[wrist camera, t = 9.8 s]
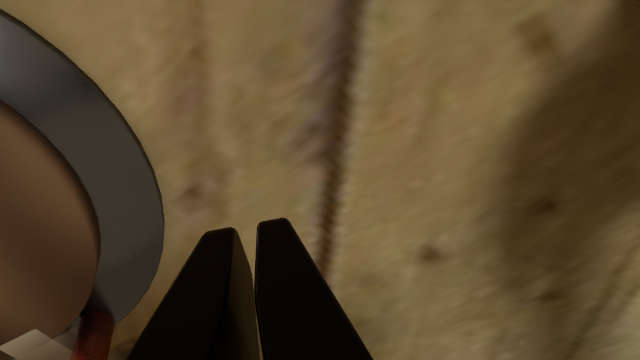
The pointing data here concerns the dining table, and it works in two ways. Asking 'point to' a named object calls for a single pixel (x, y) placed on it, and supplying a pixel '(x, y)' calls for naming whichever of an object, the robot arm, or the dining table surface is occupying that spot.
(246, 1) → the dining table surface
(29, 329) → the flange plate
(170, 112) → the dining table surface
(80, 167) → the bowl
